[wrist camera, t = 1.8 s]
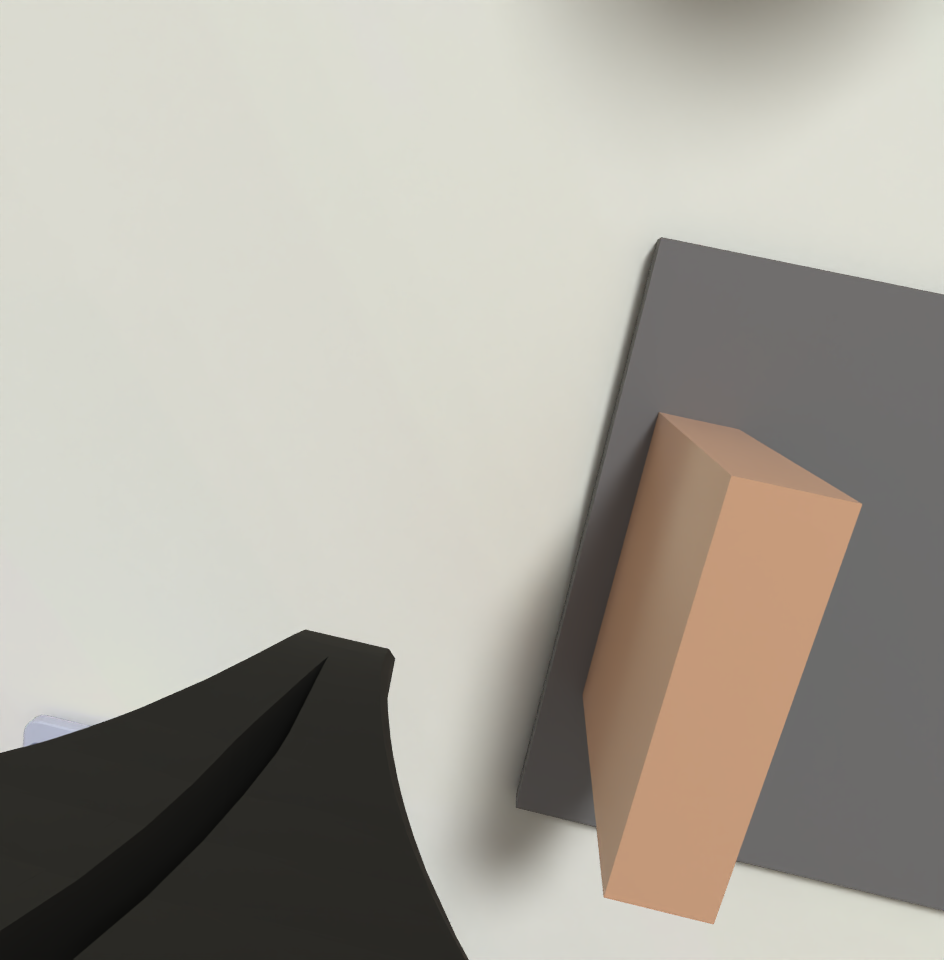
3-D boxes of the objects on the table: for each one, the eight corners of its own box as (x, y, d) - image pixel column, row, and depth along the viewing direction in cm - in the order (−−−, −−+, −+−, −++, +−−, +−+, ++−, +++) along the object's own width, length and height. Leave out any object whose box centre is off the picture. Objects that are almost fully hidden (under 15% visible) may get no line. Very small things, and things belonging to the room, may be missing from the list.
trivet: (1025, 916, 21) (1039, 934, 20) (516, 793, 21) (515, 807, 21) (1291, 369, 17) (1319, 370, 16) (657, 239, 17) (661, 237, 17)
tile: (659, 712, 20) (721, 926, 13) (582, 694, 20) (603, 897, 13) (745, 430, 18) (872, 505, 11) (658, 412, 18) (731, 475, 11)
